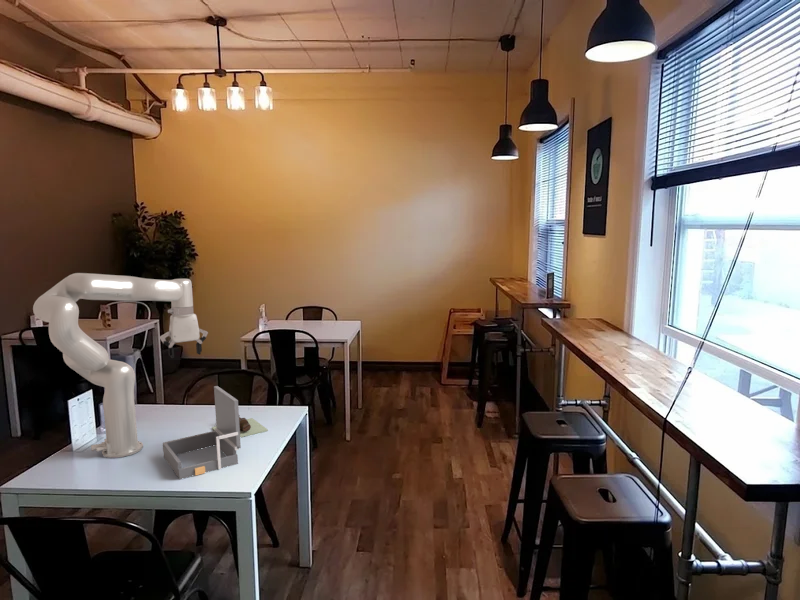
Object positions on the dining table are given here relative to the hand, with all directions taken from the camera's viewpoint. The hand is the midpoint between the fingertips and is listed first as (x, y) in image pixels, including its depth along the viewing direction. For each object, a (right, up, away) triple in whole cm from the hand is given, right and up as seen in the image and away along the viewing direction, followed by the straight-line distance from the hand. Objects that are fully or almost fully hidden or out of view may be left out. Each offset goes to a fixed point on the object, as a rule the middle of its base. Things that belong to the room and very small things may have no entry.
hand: (185, 355), depth 204 cm
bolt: (+20, -28, -1) cm, 34 cm away
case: (+16, -32, -28) cm, 45 cm away
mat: (+21, -28, -1) cm, 35 cm away
